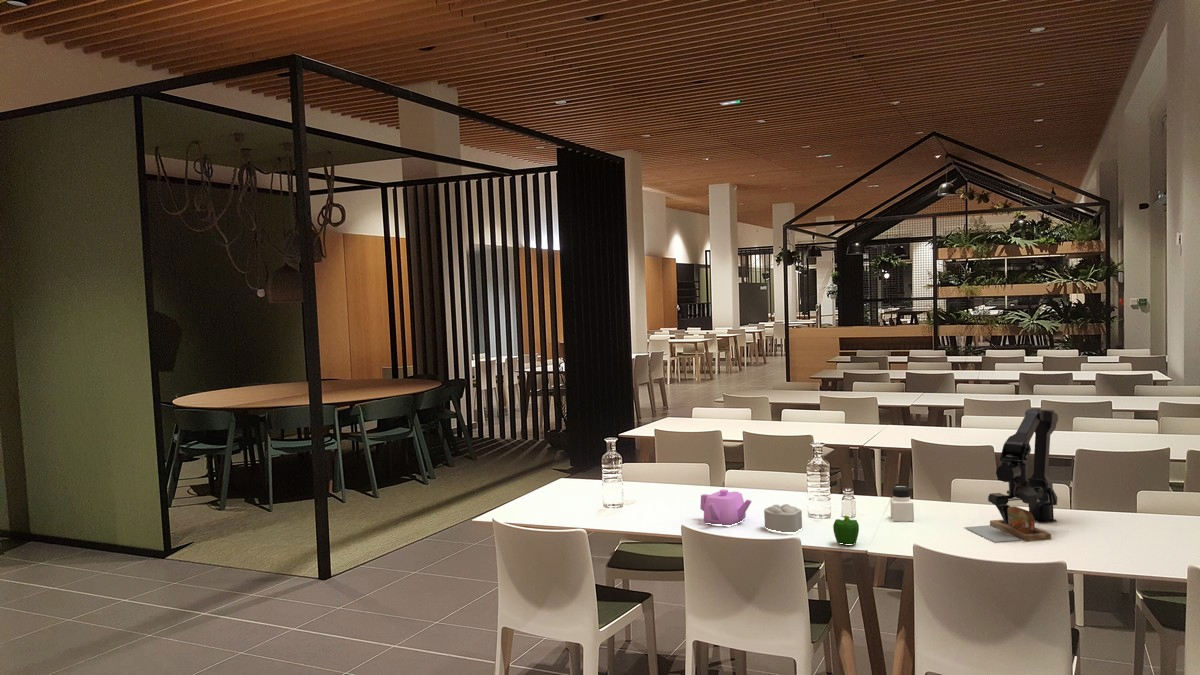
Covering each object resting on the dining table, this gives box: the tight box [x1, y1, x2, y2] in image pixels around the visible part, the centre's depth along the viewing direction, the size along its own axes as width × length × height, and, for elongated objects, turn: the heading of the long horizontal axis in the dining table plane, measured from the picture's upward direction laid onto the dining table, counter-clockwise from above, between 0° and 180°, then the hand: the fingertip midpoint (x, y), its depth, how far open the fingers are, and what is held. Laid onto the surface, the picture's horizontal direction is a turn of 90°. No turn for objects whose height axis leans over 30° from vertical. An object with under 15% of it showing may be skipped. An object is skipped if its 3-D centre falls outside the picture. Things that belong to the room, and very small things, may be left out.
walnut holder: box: [989, 519, 1052, 542], centre depth 288 cm, size 9×21×2 cm, turn 5°
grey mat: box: [963, 524, 1022, 544], centre depth 287 cm, size 9×19×1 cm, turn 5°
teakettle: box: [699, 488, 752, 525], centre depth 321 cm, size 17×17×12 cm
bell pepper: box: [832, 515, 860, 545], centre depth 284 cm, size 8×8×10 cm
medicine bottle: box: [889, 485, 915, 522], centre depth 312 cm, size 7×7×12 cm
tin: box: [1004, 505, 1036, 534], centre depth 288 cm, size 15×3×8 cm, turn 5°
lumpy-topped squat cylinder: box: [763, 503, 803, 532], centre depth 306 cm, size 10×13×9 cm
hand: (1019, 522), depth 288 cm, fingers open, 9 cm apart
